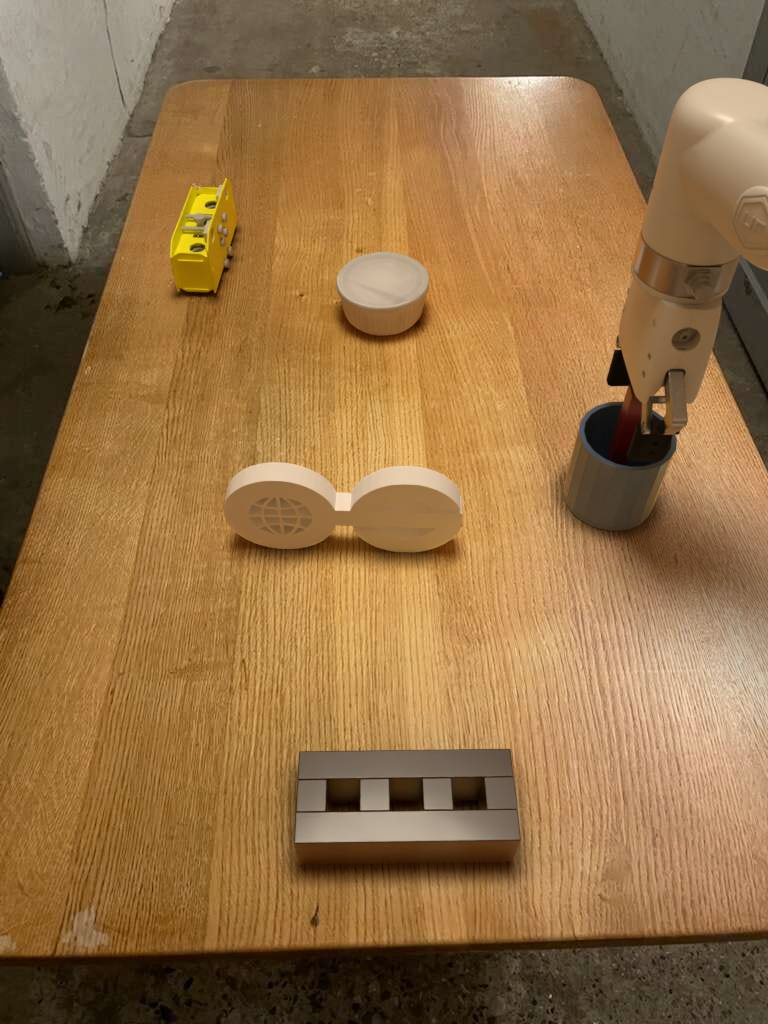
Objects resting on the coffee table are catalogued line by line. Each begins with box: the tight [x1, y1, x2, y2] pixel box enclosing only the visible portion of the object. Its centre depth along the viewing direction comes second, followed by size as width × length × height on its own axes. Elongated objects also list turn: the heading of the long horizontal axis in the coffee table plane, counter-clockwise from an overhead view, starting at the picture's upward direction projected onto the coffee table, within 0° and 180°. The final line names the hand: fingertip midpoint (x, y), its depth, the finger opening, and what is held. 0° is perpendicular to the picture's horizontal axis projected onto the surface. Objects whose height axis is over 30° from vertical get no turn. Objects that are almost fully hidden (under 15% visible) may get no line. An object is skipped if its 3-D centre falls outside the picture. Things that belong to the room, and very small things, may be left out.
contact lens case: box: [223, 461, 464, 553], centre depth 78 cm, size 22×2×10 cm, turn 88°
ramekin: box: [335, 251, 430, 337], centre depth 102 cm, size 11×11×5 cm
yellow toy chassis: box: [169, 177, 238, 294], centre depth 108 cm, size 16×6×8 cm, turn 177°
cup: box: [562, 401, 678, 532], centre depth 82 cm, size 9×9×9 cm
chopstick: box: [606, 384, 642, 466], centre depth 80 cm, size 2×2×14 cm
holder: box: [293, 748, 522, 866], centre depth 63 cm, size 7×16×5 cm, turn 91°
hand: (633, 419), depth 77 cm, fingers open, 9 cm apart
